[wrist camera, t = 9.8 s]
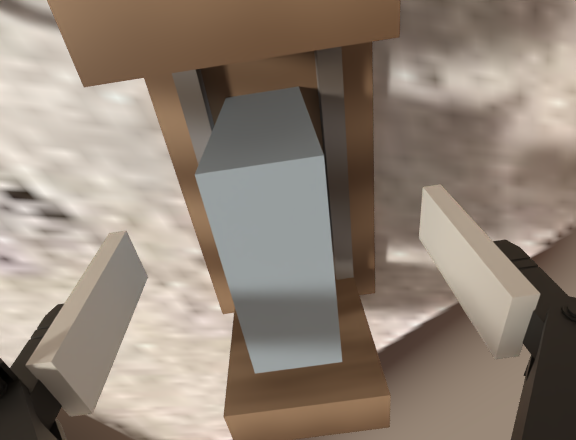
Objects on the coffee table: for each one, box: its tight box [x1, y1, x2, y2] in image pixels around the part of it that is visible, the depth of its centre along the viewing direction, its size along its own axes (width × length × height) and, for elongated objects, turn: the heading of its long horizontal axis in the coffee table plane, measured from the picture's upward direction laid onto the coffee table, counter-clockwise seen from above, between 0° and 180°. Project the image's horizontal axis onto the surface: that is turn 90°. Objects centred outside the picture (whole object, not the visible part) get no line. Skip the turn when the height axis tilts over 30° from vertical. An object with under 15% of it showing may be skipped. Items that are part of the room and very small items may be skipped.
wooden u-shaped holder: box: [47, 0, 400, 440], centre depth 18 cm, size 22×12×11 cm, turn 8°
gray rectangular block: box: [195, 86, 342, 373], centre depth 18 cm, size 10×4×10 cm, turn 8°
